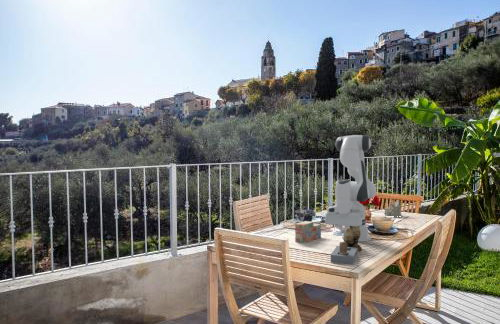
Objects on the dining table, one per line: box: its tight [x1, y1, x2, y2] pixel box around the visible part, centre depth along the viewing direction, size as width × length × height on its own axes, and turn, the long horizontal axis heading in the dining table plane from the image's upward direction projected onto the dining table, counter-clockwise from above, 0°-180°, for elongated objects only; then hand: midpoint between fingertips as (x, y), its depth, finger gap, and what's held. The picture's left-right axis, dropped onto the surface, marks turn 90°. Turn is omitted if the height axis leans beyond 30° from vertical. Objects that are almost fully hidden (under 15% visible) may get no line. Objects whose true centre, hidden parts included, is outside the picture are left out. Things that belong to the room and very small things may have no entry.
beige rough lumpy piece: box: [342, 226, 363, 253], centre depth 241 cm, size 18×12×17 cm, turn 146°
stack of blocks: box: [294, 220, 322, 244], centre depth 267 cm, size 21×6×12 cm, turn 137°
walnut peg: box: [339, 241, 347, 255], centre depth 218 cm, size 4×4×10 cm
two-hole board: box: [330, 245, 359, 265], centre depth 223 cm, size 20×12×4 cm, turn 158°
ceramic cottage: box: [384, 199, 403, 217], centre depth 351 cm, size 16×16×15 cm
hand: (343, 233), depth 223 cm, fingers closed
